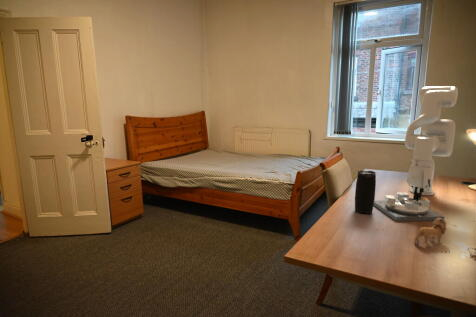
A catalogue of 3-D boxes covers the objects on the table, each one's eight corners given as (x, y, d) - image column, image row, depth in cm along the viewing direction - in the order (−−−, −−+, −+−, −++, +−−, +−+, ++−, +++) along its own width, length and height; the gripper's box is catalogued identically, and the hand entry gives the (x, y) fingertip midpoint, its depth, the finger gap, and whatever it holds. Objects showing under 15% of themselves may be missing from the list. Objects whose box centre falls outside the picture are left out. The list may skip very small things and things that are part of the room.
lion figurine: (433, 236, 120) (436, 215, 118) (447, 242, 115) (451, 219, 113) (409, 244, 113) (412, 221, 111) (424, 250, 108) (427, 227, 107)
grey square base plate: (372, 204, 156) (372, 200, 156) (413, 204, 157) (414, 200, 157) (395, 221, 135) (396, 216, 134) (443, 220, 135) (444, 216, 135)
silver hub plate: (381, 200, 156) (382, 190, 155) (420, 203, 152) (421, 193, 151) (390, 212, 139) (391, 202, 138) (434, 216, 135) (435, 205, 134)
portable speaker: (370, 208, 150) (373, 170, 146) (375, 215, 141) (379, 174, 137) (351, 207, 151) (355, 169, 147) (356, 214, 142) (359, 173, 138)
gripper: (402, 160, 150) (398, 196, 154) (429, 166, 136) (424, 205, 140) (414, 159, 152) (410, 194, 156) (442, 165, 138) (436, 204, 142)
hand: (416, 199), depth 148 cm, fingers closed
